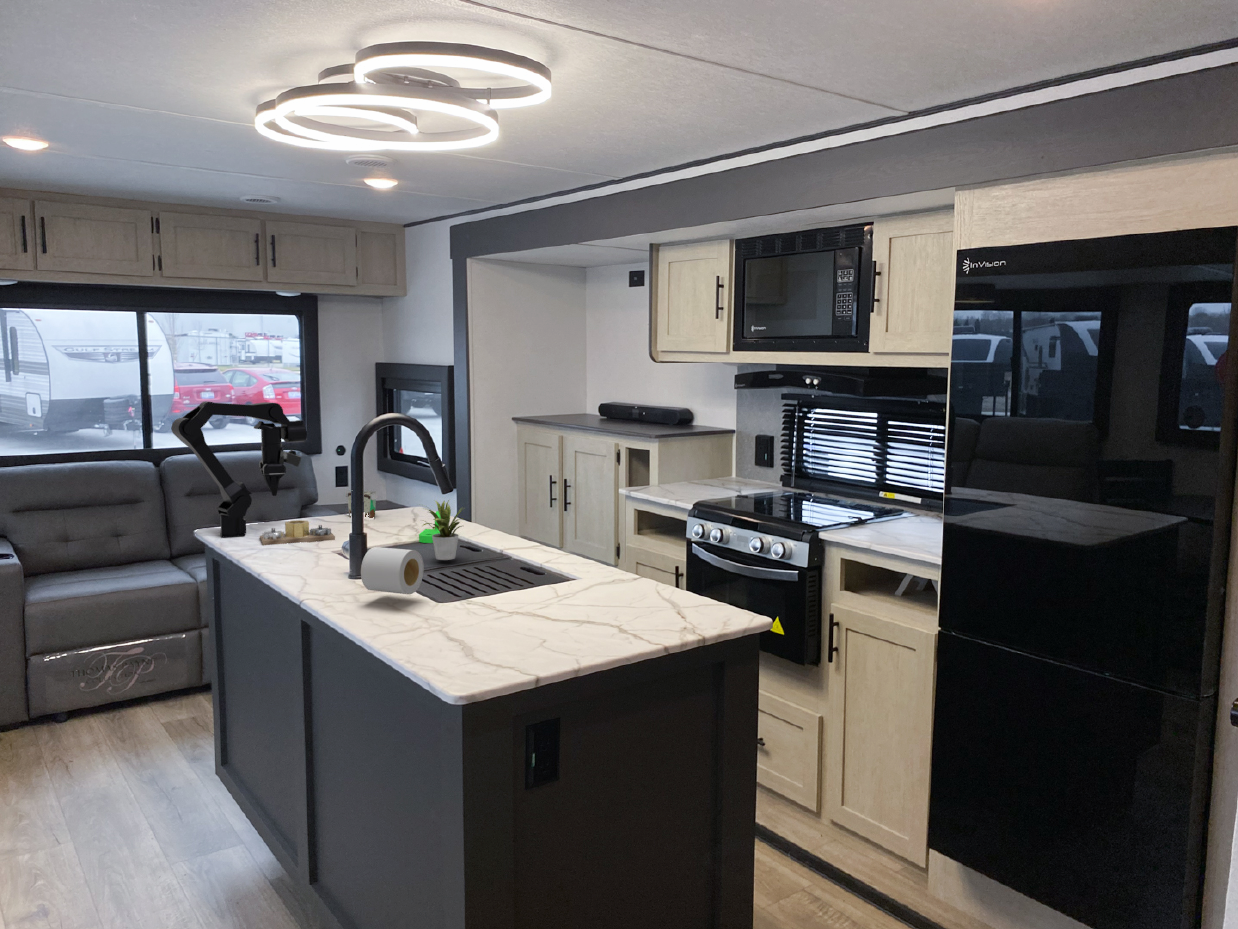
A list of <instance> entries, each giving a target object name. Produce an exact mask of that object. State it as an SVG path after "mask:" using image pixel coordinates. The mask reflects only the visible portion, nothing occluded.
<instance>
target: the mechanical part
mask: <svg viewBox="0 0 1238 929" xmlns="http://www.w3.org/2000/svg"><path fill="white" fill-rule="evenodd" d="M435 513H436V514H437V515H438V517H439V519H441V518H440V514H439V512H438V510H437V511H435ZM434 524H436V525H438V523H437V522H436V521H435V520H434ZM438 526H439V525H438ZM434 527H436V526H435V525H434ZM438 533H440V532H439V530H438V529H437V528H435V529H433V528H424V530H423V531H421V532H420V533H418V542H419V543H424V544H433V539H432V535H434V534H438Z"/></svg>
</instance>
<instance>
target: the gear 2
mask: <svg viewBox="0 0 1238 929" xmlns="http://www.w3.org/2000/svg"><path fill="white" fill-rule="evenodd" d="M309 532H310V535H313V536H324V535H330V534H331V533H332V528H329V527H323V525H322V524H319V525H318V527H317V528H313V527H312V528H311V529H309Z"/></svg>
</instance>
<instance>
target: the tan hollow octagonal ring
mask: <svg viewBox="0 0 1238 929" xmlns="http://www.w3.org/2000/svg"><path fill="white" fill-rule="evenodd" d="M284 530H285V531H284V534H285V536H286V537H292V538H296V537H305V536H309V532H310V522H309V521H308V520H302V519H301V520H297V519H296V520H288V521H285V522H284Z"/></svg>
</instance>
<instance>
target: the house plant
mask: <svg viewBox="0 0 1238 929" xmlns="http://www.w3.org/2000/svg"><path fill="white" fill-rule="evenodd" d="M434 501H435V503H436V506H437V511H438V512H439V514H440V518H441V519H439V517H438V515H437V514H436V511H434V510H431V509H429V508H422V509H423V510H427V511H428V512H429V514H431V515H432V516H433V519H432V520H434V522H435V521H436V522H437V523H438V525H439V526H438V525H436V524H435V523H432V522H427V521H426V520H422V519H421V521H422V522H425V523H423V524H422V525H421V527H423V526H426V525H428V526H430V527H431V529H435V528H437V529H438V530H439V532H440V533H438V534H434V535H432V539H433V543H432V544H433V551H434V555H435V559H436V560H440V561H448V560H454V559H456V557H457V556H456V554H457V548H458V542H459V536H460V535H459V534H458V533H455V532H456V531H457V530H458V529H460V528H462V527H463V525H459V524H460V523H461V521H459V520H461V518H458V516H459V514H460V513H461V512H462V511H463V510H464V508H460V509H459V510H458V512H456V514H455V516H454V517H453V519H452V521H451V510H452V509H451V506H450V502H449V501H450V498H449V499H448V501H445V500H443V502H442V503H441V504H440V503H439V502H438V501H437V500H434ZM419 505H420V506H421V504H418V503H417V506H419ZM422 506H424V507H425V505H424V504H422ZM457 518H458V519H457ZM462 520H463V521H464V520H465V519H464V518H462ZM450 522H451V523H450ZM432 525H433V526H432ZM458 525H459V526H458ZM435 526H436V527H435Z"/></svg>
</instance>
